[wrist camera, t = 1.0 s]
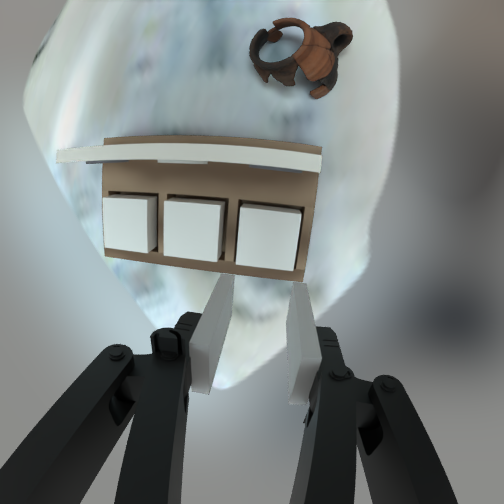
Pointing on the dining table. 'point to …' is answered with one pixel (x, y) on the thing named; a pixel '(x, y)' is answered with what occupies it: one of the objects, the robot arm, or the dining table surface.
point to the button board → (215, 197)
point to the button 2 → (268, 236)
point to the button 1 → (130, 222)
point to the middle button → (193, 228)
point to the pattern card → (195, 155)
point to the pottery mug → (304, 53)
